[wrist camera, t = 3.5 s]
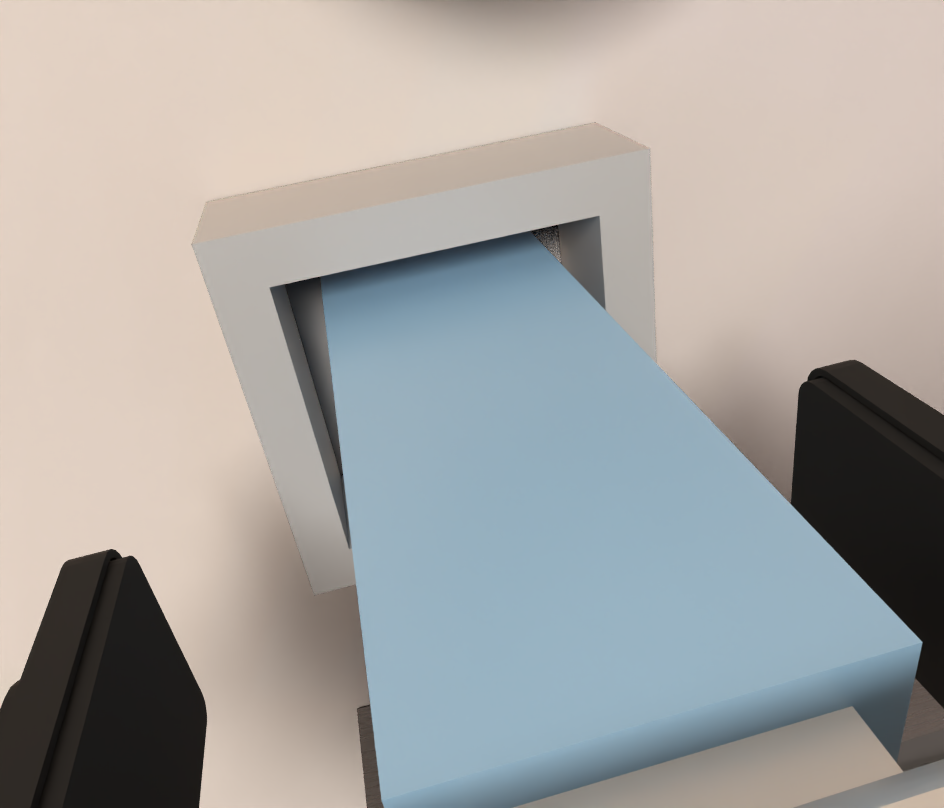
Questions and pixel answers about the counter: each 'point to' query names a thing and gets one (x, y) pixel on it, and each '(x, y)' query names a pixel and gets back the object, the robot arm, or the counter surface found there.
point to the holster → (400, 236)
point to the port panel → (922, 743)
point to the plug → (583, 563)
